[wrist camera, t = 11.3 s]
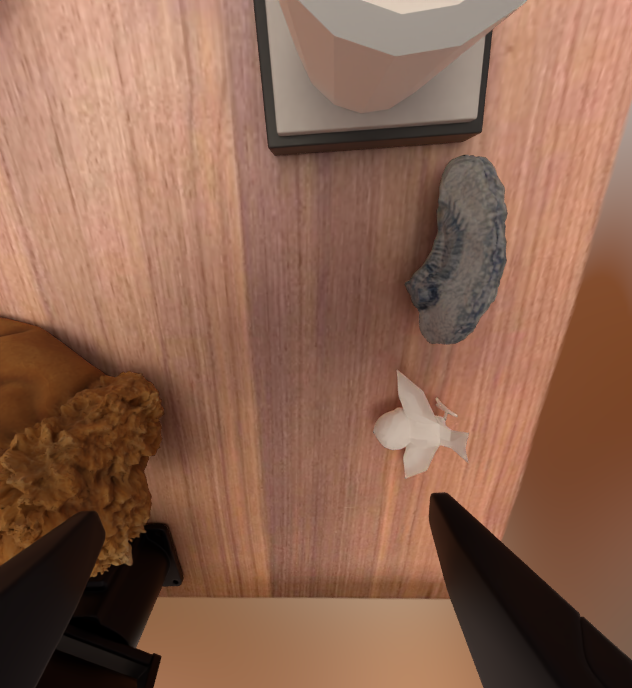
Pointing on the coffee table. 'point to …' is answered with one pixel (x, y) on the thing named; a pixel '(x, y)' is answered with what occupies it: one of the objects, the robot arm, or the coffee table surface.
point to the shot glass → (385, 43)
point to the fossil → (462, 252)
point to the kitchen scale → (362, 128)
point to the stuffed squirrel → (71, 444)
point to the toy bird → (417, 429)
